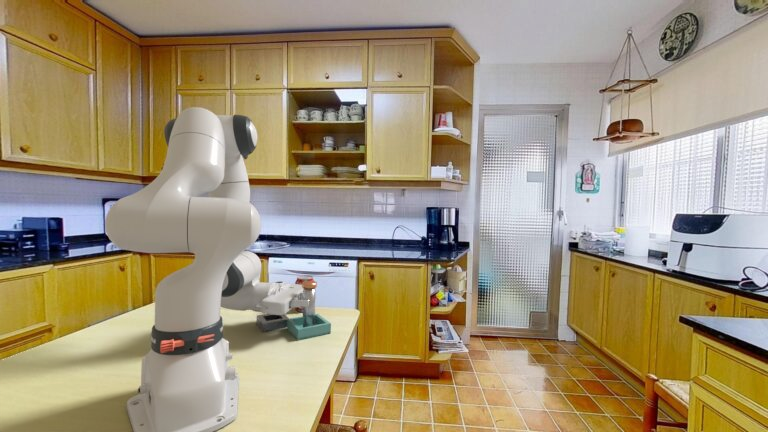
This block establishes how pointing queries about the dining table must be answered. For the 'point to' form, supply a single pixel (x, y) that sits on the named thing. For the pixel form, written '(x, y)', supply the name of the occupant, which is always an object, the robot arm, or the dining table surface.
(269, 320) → the block
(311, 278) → the soda can
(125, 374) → the dining table surface
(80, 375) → the dining table surface
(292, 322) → the tray
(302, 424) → the dining table surface
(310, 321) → the lock pin
